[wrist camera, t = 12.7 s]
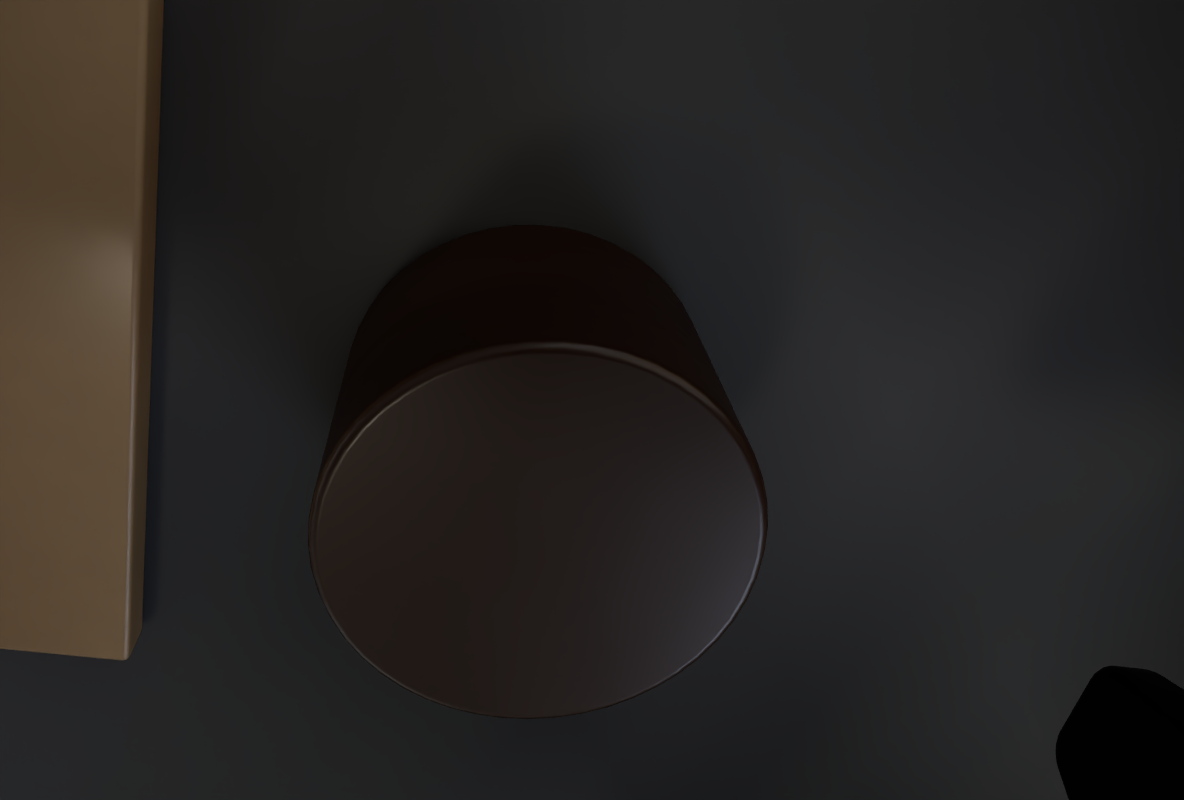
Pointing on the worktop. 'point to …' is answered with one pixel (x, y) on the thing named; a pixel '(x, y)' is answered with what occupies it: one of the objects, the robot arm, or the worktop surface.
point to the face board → (76, 318)
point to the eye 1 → (533, 480)
